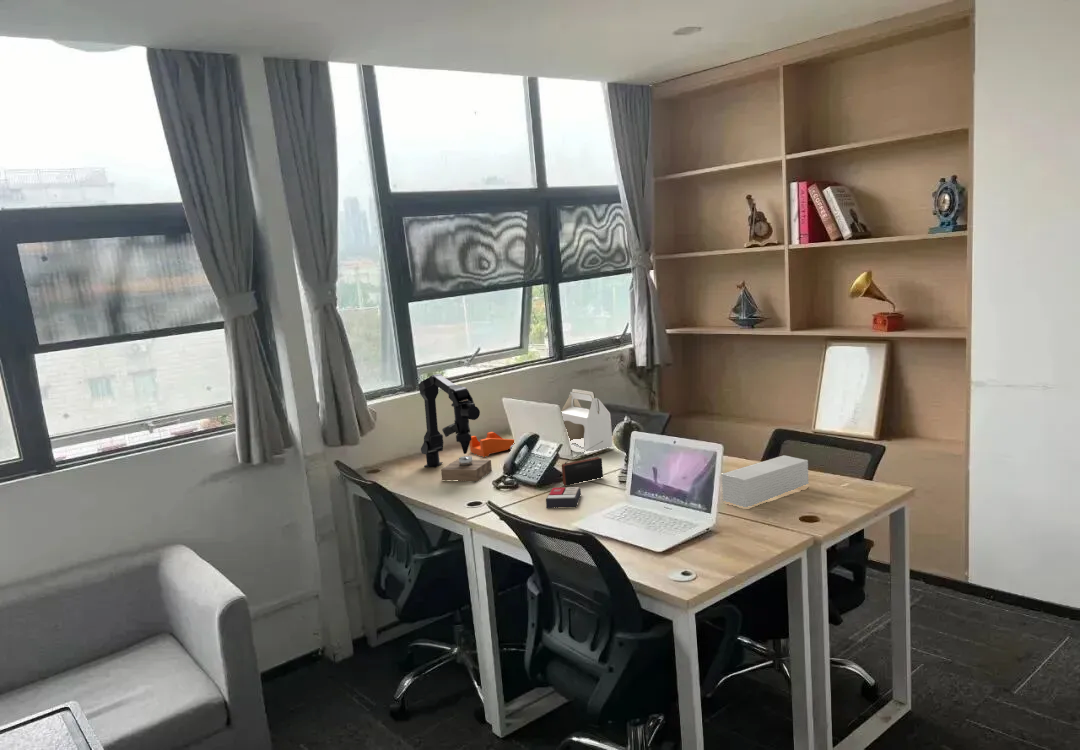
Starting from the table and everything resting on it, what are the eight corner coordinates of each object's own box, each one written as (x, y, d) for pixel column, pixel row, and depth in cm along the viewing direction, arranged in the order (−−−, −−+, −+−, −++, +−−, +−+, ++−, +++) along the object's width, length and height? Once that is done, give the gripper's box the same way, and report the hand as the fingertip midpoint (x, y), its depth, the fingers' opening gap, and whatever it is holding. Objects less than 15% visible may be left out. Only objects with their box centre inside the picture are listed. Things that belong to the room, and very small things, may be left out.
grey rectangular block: (784, 483, 286) (783, 455, 284) (808, 489, 277) (807, 460, 275) (722, 503, 269) (721, 473, 267) (746, 510, 260) (744, 479, 258)
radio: (566, 486, 303) (563, 449, 301) (563, 485, 306) (560, 448, 304) (608, 478, 310) (605, 441, 308) (604, 476, 313) (601, 440, 311)
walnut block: (458, 470, 341) (457, 459, 340) (491, 470, 335) (490, 459, 334) (442, 480, 326) (440, 469, 325) (476, 481, 320) (475, 470, 320)
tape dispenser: (483, 458, 360) (482, 440, 359) (470, 453, 371) (469, 436, 369) (516, 450, 370) (514, 433, 369) (502, 446, 380) (501, 429, 379)
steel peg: (464, 472, 334) (462, 455, 333) (475, 473, 332) (474, 456, 331) (458, 476, 329) (456, 459, 328) (470, 476, 327) (468, 459, 326)
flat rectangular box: (580, 485, 291) (575, 496, 277) (581, 497, 292) (576, 508, 277) (551, 486, 293) (545, 497, 279) (552, 497, 294) (546, 508, 279)
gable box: (561, 448, 365) (557, 390, 360) (584, 443, 372) (579, 385, 368) (590, 456, 346) (586, 394, 342) (613, 450, 353) (609, 390, 349)
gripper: (442, 415, 335) (445, 450, 337) (442, 423, 317) (446, 460, 319) (468, 412, 336) (471, 447, 338) (469, 420, 318) (473, 457, 320)
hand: (465, 453), depth 329 cm, fingers closed
